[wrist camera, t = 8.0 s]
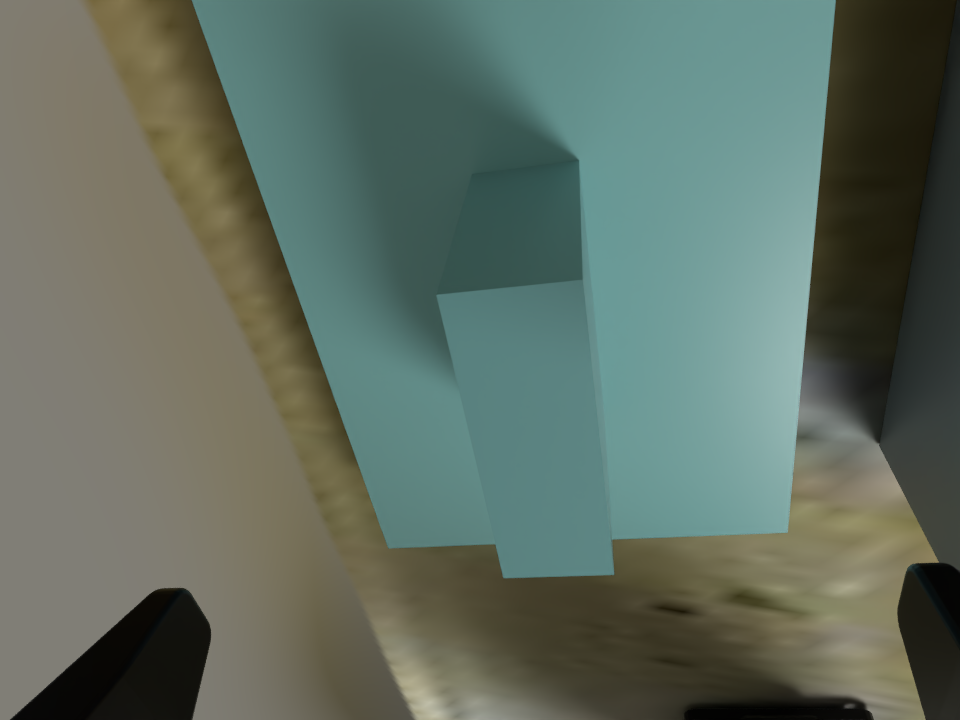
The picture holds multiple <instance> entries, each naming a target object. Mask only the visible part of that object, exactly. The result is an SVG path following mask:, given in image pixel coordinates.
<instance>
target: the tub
mask: <svg viewBox="0 0 960 720" xmlns="http://www.w3.org/2000/svg"><path fill="white" fill-rule="evenodd" d="M879 446H880V448H881V450H882V452H883V454H884V456H885V458H886V460H887V462H888V464H889V466H890V468H891V470H892V472H893V473H894V475H895V477H896V479H897V481H898V483H899V485H900V487H901V489H902V491H903V493H904V495H905V497H906V499H907V501H908V503H909V505H910V507H911V508H912V510H913V512H914V514H915V516H916V518H917V520H918V522H919V524H920V526H921V528H922V530H923V532H924V534H925V536H926V538H927V540H928V542H929V543H930V545H931V547H932V549H933V551H934V553H935V555H936V557H937V559H938V561H939V563H947V564H950V565H952V566H954V567H955V568H957V569H958V570H959V571H960V0H957V3H956V9H955V15H954V21H953V26H952V32H951V38H950V44H949V49H948V55H947V61H946V66H945V72H944V78H943V84H942V89H941V95H940V101H939V107H938V112H937V118H936V124H935V129H934V135H933V141H932V147H931V152H930V158H929V164H928V170H927V175H926V181H925V187H924V192H923V198H922V204H921V210H920V215H919V221H918V227H917V233H916V238H915V244H914V250H913V255H912V261H911V267H910V273H909V278H908V284H907V290H906V296H905V301H904V307H903V313H902V318H901V324H900V330H899V336H898V341H897V347H896V353H895V359H894V364H893V370H892V376H891V381H890V387H889V393H888V399H887V404H886V410H885V416H884V422H883V427H882V433H881V439H880V445H879Z"/></svg>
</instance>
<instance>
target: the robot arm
mask: <svg viewBox="0 0 960 720" xmlns="http://www.w3.org/2000/svg"><path fill="white" fill-rule="evenodd" d="M897 615H898V623H899V628H900V632H901V635H902V639H903V642H904V646H905V649H906V653H907V656H908V660H909V663H910V667H911V670H912V673H913V677H914V680H915V684H916V687H917V691H918V694H919V698H920V701H921V705H922V708H923V712H924V715H925V719H926V720H960V571H959V570H958V569H957V568H955V567H954V566H952V565H950V564H947V563H916V564H912V565H910V566H909V567H908V568H907V571H906V574H905V578H904V582H903V587H902V591H901V595H900V600H899V604H898V611H897ZM210 641H211V629H210V624H209V622H208V621H207V619H206V617H205V615H204V614H203V612H202V611H201V609H200V607H199V606H198V604H197V602H196V601H195V599H194V598H193V596H192V594H191V593H190V592H189V591H188V590H186V589H184V588H164V589H158V590H155V591H154V592H152V593H151V594H149V595H148V596H147V597H146V598H145V599H144V600H143V601H141V602H140V603H139V604H138V605H137V606H136V607H135V608H134V609H133V610H131V611H130V612H129V613H128V614H127V615H126V616H125V617H124V618H123V619H122V620H120V621H119V622H118V623H117V624H116V625H115V626H114V627H113V628H111V630H109V631H108V632H107V633H106V634H105V635H104V636H103V637H101V638H100V639H99V640H98V641H97V642H96V643H95V644H94V645H93V646H91V647H90V648H89V649H88V650H87V651H86V652H85V653H84V654H83V655H82V656H80V657H79V658H78V659H77V660H76V661H75V662H74V663H73V664H72V665H70V666H69V667H68V668H67V669H66V670H65V671H64V672H63V673H61V674H60V675H59V676H58V677H57V678H56V679H55V680H54V681H53V682H51V683H50V684H49V685H48V686H47V687H46V688H45V689H44V690H43V691H42V692H40V693H39V694H38V695H37V696H36V697H35V698H34V699H33V700H31V702H29V703H28V704H27V705H26V706H25V707H24V708H23V709H21V710H20V711H19V712H18V713H17V714H16V715H15V716H14V717H13V718H12V719H10V720H192V719H193V714H194V710H195V705H196V702H197V697H198V693H199V689H200V684H201V680H202V676H203V672H204V667H205V663H206V659H207V655H208V650H209V646H210ZM684 720H874V719H873V716H872V713H871V712H869V711H867V710H865V709H691V710H688V711H687V712H685V713H684Z"/></svg>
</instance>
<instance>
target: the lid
mask: <svg viewBox="0 0 960 720" xmlns="http://www.w3.org/2000/svg"><path fill="white" fill-rule="evenodd" d="M192 2H193V5H194V8H195V11H196V14H197V16H198V19H199V22H200V25H201V28H202V30H203V33H204V36H205V39H206V42H207V44H208V47H209V50H210V53H211V55H212V58H213V61H214V64H215V67H216V69H217V72H218V75H219V78H220V81H221V83H222V86H223V89H224V92H225V94H226V97H227V100H228V103H229V106H230V108H231V111H232V114H233V117H234V120H235V122H236V125H237V128H238V131H239V134H240V136H241V139H242V142H243V145H244V147H245V150H246V153H247V156H248V159H249V161H250V164H251V167H252V170H253V173H254V175H255V178H256V181H257V184H258V186H259V189H260V192H261V195H262V198H263V200H264V203H265V206H266V209H267V212H268V214H269V217H270V220H271V223H272V226H273V228H274V231H275V234H276V237H277V239H278V242H279V245H280V248H281V251H282V253H283V256H284V259H285V262H286V265H287V267H288V270H289V273H290V276H291V278H292V281H293V284H294V287H295V290H296V292H297V295H298V298H299V301H300V304H301V306H302V309H303V312H304V315H305V318H306V320H307V323H308V326H309V329H310V331H311V334H312V337H313V340H314V343H315V345H316V348H317V351H318V354H319V357H320V359H321V362H322V365H323V368H324V370H325V373H326V376H327V379H328V382H329V384H330V387H331V390H332V393H333V396H334V398H335V401H336V404H337V407H338V410H339V412H340V415H341V418H342V421H343V423H344V426H345V429H346V432H347V435H348V437H349V440H350V443H351V446H352V449H353V451H354V454H355V457H356V460H357V462H358V465H359V468H360V471H361V474H362V476H363V479H364V482H365V485H366V488H367V490H368V493H369V496H370V499H371V501H372V504H373V507H374V510H375V513H376V515H377V518H378V521H379V524H380V527H381V529H382V532H383V535H384V538H385V541H386V543H387V546H388V548H412V547H437V546H462V545H487V544H495V545H496V549H497V553H498V557H499V562H500V566H501V570H502V574H503V578H529V577H562V576H594V575H614V562H613V546H612V540H614V539H639V538H664V537H689V536H715V535H740V534H765V533H788V523H789V512H790V501H791V490H792V478H793V467H794V456H795V445H796V434H797V423H798V412H799V401H800V390H801V379H802V368H803V357H804V346H805V335H806V324H807V313H808V301H809V290H810V279H811V268H812V257H813V246H814V235H815V224H816V213H817V202H818V191H819V180H820V169H821V158H822V147H823V136H824V125H825V113H826V102H827V91H828V80H829V69H830V58H831V47H832V36H833V25H834V14H835V3H836V0H192Z"/></svg>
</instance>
